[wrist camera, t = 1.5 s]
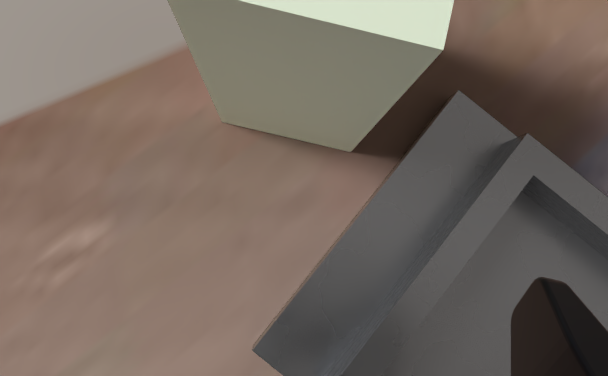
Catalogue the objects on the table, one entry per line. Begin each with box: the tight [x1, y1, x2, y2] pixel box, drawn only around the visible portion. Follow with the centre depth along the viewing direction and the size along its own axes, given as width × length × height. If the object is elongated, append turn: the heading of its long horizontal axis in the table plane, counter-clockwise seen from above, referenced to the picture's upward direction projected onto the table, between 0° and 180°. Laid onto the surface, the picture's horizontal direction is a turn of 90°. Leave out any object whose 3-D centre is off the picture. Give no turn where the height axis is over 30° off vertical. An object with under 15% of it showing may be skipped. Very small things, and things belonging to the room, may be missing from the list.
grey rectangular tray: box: [252, 90, 608, 376], centre depth 20 cm, size 12×16×3 cm
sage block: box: [168, 0, 454, 152], centre depth 16 cm, size 5×5×12 cm
